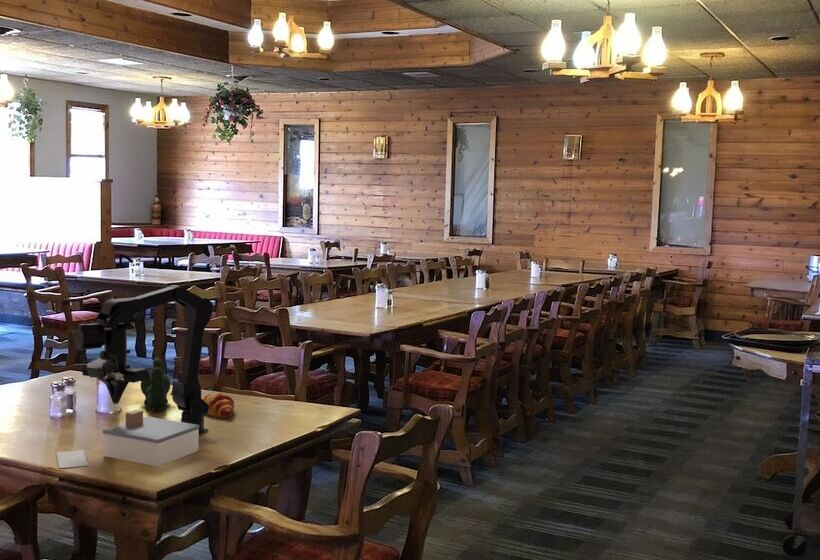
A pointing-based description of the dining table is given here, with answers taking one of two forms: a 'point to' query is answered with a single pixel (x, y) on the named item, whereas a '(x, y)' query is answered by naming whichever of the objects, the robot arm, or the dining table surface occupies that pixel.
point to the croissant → (219, 405)
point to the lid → (149, 428)
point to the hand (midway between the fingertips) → (115, 403)
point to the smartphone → (71, 459)
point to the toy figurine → (156, 388)
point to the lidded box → (151, 448)
